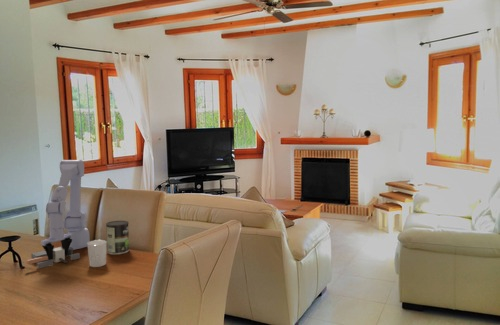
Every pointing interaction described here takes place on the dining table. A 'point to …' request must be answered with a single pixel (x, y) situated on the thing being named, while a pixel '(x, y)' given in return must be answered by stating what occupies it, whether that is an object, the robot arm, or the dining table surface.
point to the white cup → (97, 253)
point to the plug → (59, 255)
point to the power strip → (50, 262)
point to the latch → (37, 259)
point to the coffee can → (117, 237)
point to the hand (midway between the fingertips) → (58, 257)
